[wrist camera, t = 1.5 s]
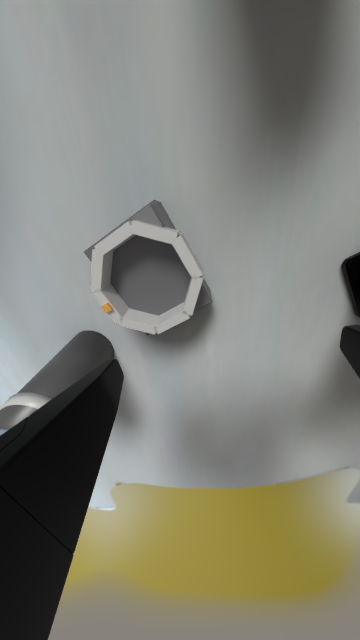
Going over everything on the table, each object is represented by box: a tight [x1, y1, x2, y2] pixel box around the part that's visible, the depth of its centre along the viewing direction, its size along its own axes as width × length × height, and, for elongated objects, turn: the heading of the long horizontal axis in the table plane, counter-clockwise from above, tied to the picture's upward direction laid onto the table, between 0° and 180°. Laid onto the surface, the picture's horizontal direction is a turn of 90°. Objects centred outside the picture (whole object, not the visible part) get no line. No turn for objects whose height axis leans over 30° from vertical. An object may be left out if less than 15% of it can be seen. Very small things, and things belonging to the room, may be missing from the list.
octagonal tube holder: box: [84, 200, 212, 335], centre depth 18 cm, size 9×8×5 cm
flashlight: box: [0, 331, 114, 435], centre depth 20 cm, size 5×5×12 cm
